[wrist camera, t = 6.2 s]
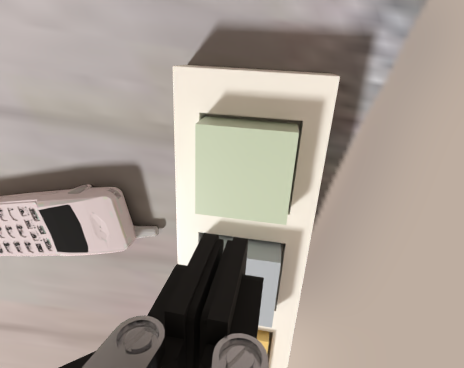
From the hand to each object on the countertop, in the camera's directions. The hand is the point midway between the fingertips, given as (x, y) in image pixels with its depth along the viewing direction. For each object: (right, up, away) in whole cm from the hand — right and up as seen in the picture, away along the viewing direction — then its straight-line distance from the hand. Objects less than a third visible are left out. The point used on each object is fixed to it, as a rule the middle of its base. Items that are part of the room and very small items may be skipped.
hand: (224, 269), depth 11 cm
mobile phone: (-19, 0, +18) cm, 26 cm away
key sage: (+1, +5, +9) cm, 11 cm away
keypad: (+1, -3, +15) cm, 16 cm away
